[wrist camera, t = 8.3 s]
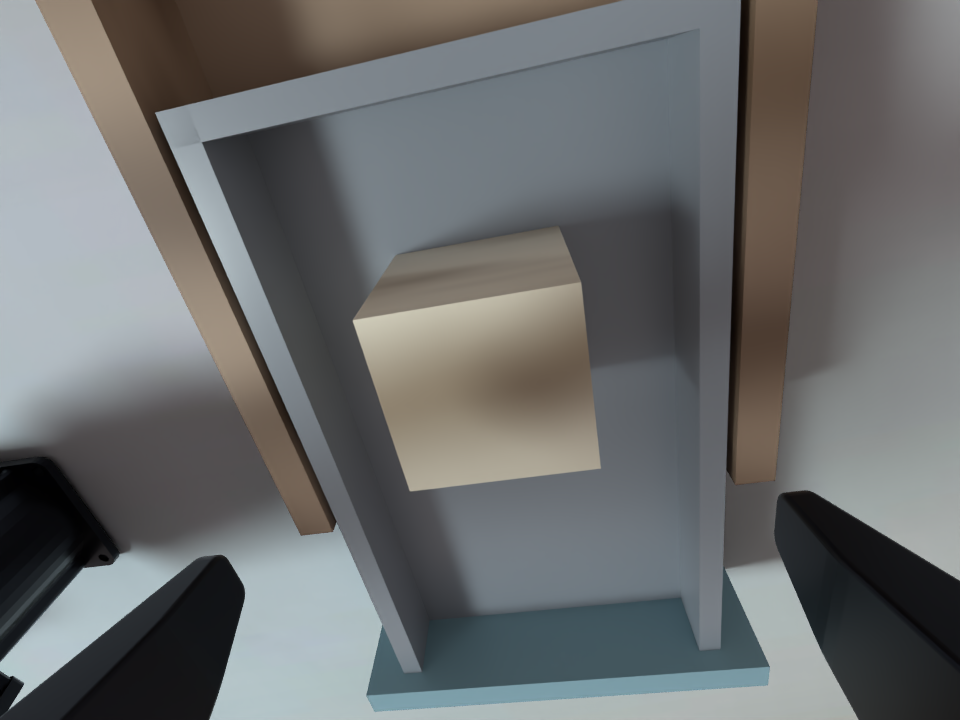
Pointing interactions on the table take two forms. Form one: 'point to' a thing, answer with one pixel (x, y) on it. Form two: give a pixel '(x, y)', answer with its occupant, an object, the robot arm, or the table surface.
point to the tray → (609, 326)
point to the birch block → (483, 361)
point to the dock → (382, 33)
